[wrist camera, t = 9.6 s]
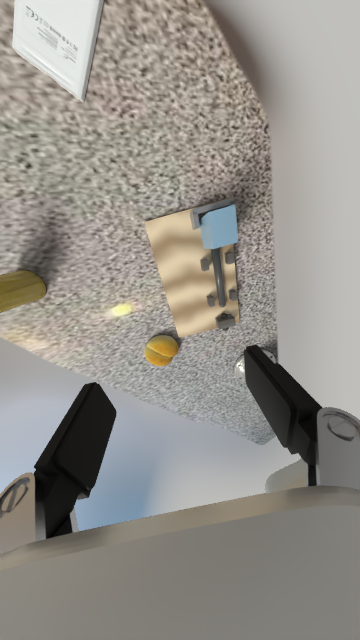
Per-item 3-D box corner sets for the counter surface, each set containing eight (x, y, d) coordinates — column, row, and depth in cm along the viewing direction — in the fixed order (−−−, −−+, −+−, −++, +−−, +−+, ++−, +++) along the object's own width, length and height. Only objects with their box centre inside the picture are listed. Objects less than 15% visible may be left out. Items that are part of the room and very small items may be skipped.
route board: (238, 323, 40) (244, 329, 37) (179, 338, 40) (180, 346, 37) (227, 198, 28) (235, 193, 25) (144, 222, 28) (142, 219, 25)
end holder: (228, 220, 29) (235, 217, 26) (192, 230, 29) (195, 228, 26) (227, 202, 28) (234, 197, 25) (189, 213, 28) (192, 209, 25)
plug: (229, 303, 36) (243, 315, 30) (213, 308, 36) (223, 320, 30) (219, 214, 28) (235, 204, 22) (198, 220, 28) (208, 212, 22)
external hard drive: (112, -30, 18) (85, 106, 22) (34, -110, 16) (20, 58, 20) (108, -54, 16) (80, 96, 21) (20, -147, 14) (9, 43, 18)
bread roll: (183, 341, 41) (184, 350, 37) (165, 364, 44) (166, 374, 40) (156, 327, 38) (155, 336, 35) (139, 352, 41) (137, 362, 38)
